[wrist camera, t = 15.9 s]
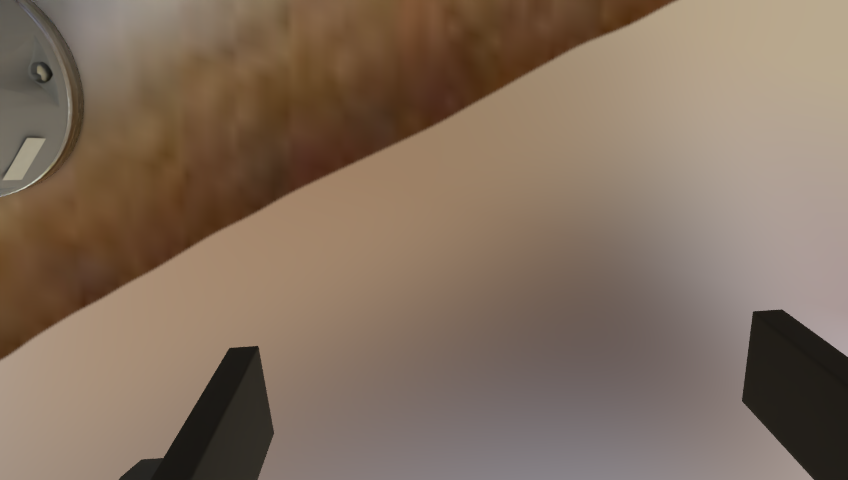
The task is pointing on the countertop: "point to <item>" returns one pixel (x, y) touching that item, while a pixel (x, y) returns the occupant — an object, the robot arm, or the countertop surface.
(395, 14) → the countertop surface
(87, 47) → the countertop surface
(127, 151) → the countertop surface
